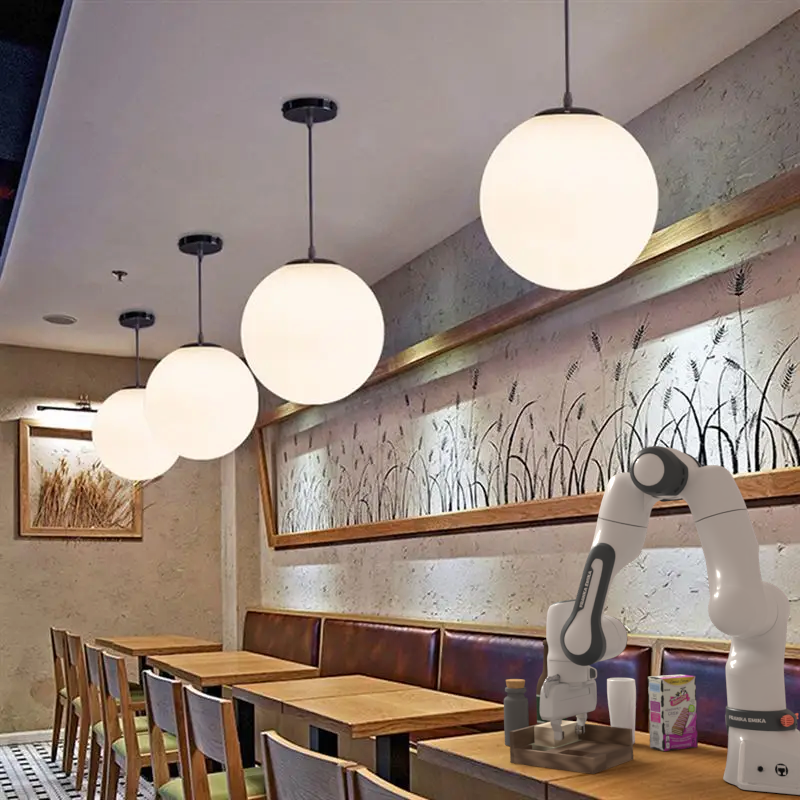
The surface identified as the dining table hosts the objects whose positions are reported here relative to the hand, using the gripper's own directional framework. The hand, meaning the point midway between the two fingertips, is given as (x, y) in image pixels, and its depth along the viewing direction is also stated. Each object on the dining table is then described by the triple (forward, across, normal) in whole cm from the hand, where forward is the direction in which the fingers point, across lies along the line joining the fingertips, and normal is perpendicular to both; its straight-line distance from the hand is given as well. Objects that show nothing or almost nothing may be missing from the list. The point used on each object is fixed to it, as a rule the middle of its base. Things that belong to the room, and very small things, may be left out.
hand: (569, 736), depth 220 cm
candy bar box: (+5, +25, -14) cm, 29 cm away
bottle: (+5, +7, +18) cm, 20 cm away
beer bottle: (+5, +17, +14) cm, 23 cm away
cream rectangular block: (+2, 0, +3) cm, 4 cm away
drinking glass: (+5, +23, -2) cm, 24 cm away
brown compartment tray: (+5, -2, -2) cm, 6 cm away
